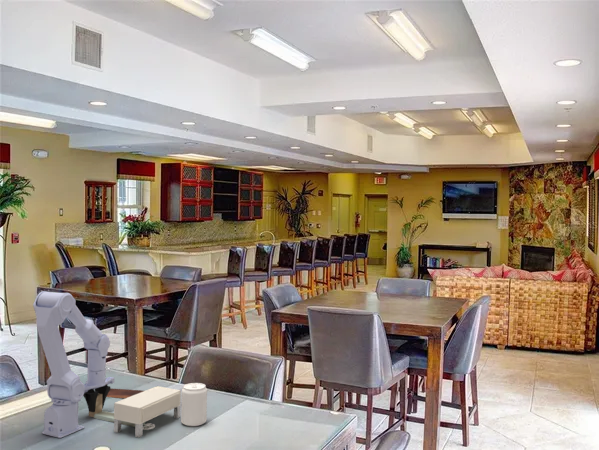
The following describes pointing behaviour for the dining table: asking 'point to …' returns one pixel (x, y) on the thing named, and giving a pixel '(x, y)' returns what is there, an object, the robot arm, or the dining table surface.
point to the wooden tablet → (122, 393)
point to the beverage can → (194, 404)
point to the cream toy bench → (146, 407)
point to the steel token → (148, 426)
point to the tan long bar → (105, 413)
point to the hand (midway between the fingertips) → (96, 409)
